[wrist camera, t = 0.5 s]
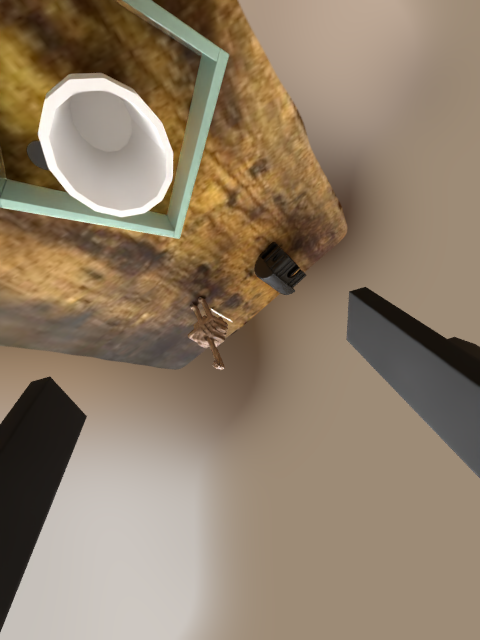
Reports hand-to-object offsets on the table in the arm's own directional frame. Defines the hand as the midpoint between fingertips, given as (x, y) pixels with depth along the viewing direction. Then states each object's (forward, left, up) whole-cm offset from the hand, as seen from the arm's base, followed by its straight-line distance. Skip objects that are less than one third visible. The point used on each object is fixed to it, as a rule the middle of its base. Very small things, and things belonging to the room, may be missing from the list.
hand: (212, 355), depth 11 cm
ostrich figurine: (+22, -28, -32) cm, 48 cm away
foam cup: (-2, +1, -32) cm, 32 cm away
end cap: (+32, -13, -32) cm, 47 cm away
